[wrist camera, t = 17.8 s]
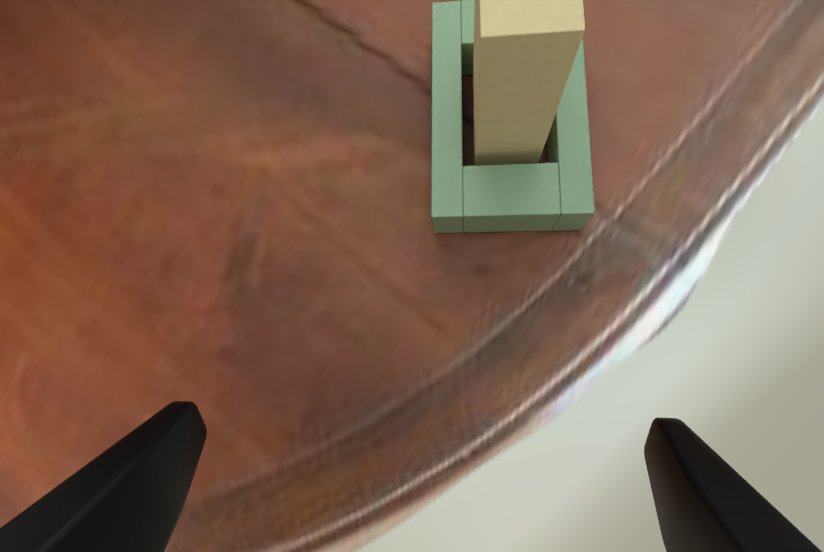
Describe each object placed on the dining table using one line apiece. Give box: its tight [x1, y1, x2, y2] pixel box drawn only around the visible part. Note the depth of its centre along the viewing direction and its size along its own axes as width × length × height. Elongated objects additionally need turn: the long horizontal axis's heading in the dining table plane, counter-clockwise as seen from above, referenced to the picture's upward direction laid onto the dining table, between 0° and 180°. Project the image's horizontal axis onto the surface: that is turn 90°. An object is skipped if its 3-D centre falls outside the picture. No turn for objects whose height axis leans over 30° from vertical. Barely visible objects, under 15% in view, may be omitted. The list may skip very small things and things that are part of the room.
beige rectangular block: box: [473, 0, 585, 166], centre depth 19 cm, size 5×3×10 cm, turn 0°
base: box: [431, 0, 595, 233], centre depth 23 cm, size 11×7×2 cm, turn 179°
